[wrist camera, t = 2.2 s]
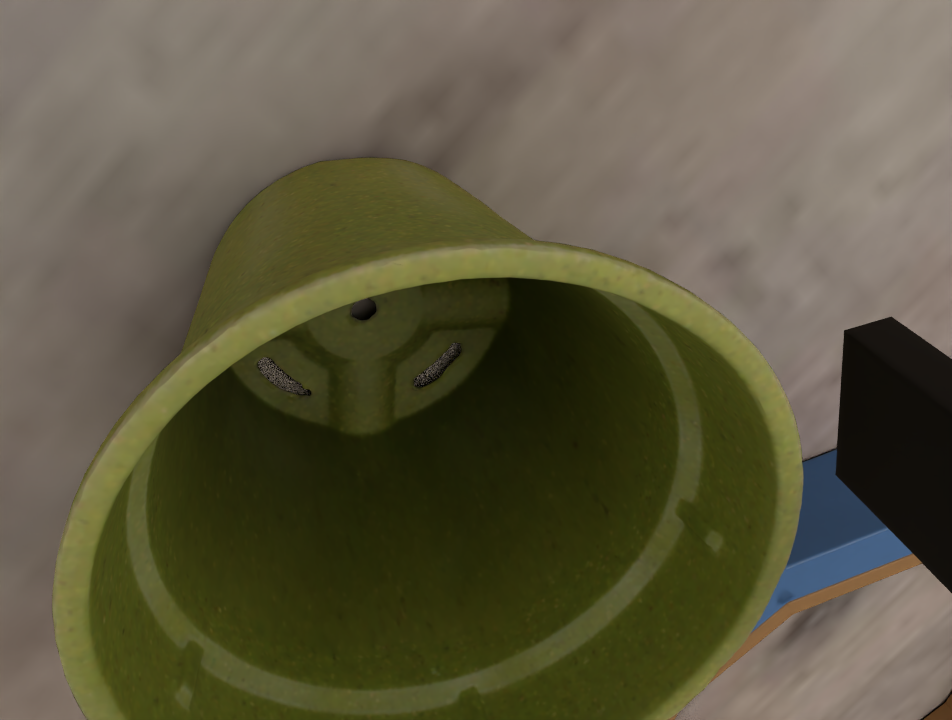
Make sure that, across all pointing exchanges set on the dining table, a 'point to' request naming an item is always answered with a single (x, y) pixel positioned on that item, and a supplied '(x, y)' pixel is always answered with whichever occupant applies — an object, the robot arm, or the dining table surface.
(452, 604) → the plant pot
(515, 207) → the dining table surface
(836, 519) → the tape roll
